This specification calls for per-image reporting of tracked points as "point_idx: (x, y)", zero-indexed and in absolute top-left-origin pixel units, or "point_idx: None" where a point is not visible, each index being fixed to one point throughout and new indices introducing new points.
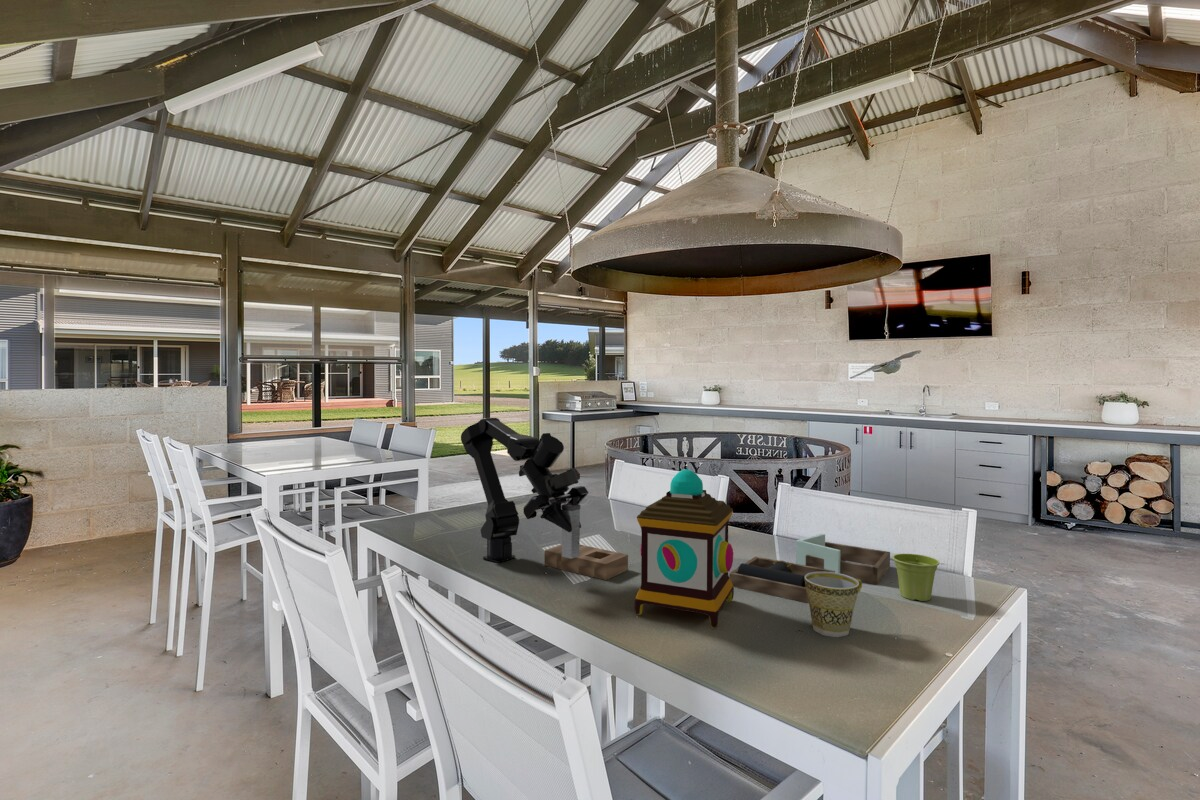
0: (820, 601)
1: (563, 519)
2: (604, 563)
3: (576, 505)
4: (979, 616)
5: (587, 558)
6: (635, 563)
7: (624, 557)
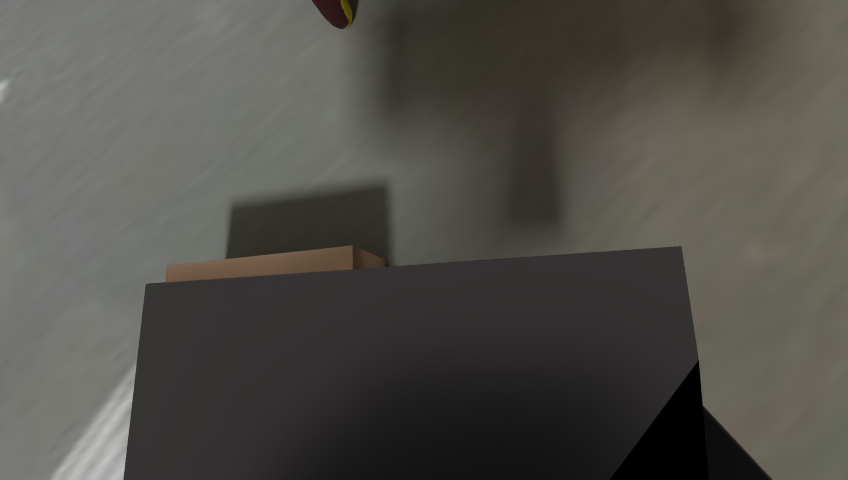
0: None
1: (752, 459)
2: (348, 257)
3: (302, 316)
4: None
5: None
6: (141, 306)
7: (200, 264)
